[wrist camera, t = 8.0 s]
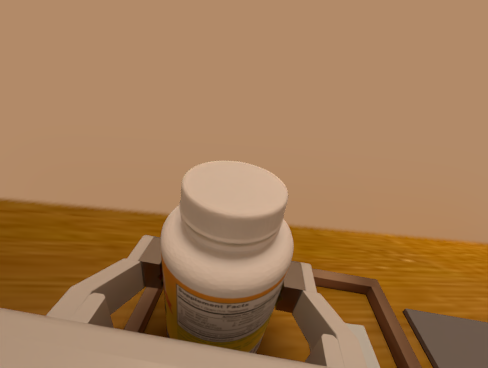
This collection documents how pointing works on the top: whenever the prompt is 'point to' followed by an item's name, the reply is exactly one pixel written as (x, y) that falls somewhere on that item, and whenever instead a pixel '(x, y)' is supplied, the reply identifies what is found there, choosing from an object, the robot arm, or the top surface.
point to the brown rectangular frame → (370, 287)
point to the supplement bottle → (225, 255)
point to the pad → (450, 339)
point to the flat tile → (364, 345)
